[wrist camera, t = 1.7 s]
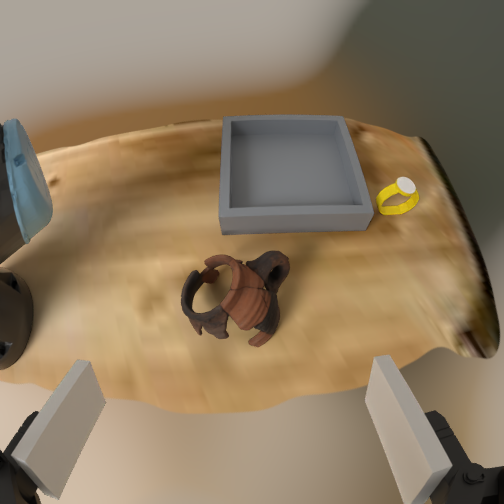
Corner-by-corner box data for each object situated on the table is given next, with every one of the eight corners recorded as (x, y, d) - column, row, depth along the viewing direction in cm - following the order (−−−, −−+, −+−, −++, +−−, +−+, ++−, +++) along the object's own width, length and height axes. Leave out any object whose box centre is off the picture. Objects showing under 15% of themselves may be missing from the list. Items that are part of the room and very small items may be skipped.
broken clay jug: (244, 372, 32) (195, 348, 26) (207, 321, 39) (162, 291, 33) (323, 292, 33) (291, 249, 27) (273, 253, 40) (238, 212, 34)
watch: (404, 203, 41) (421, 177, 36) (410, 219, 40) (429, 194, 35) (368, 203, 41) (384, 175, 36) (374, 220, 40) (391, 193, 34)
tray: (222, 235, 39) (218, 217, 36) (225, 135, 48) (223, 116, 44) (365, 230, 39) (374, 213, 36) (338, 134, 48) (343, 116, 44)
